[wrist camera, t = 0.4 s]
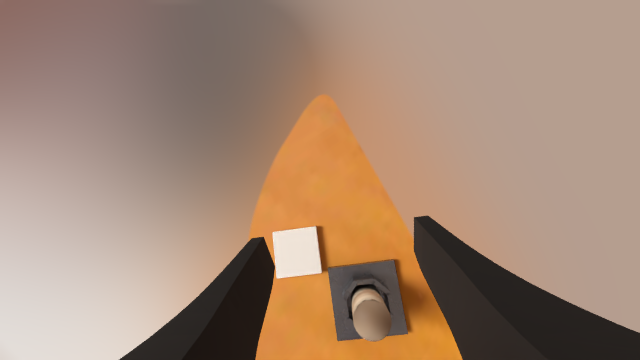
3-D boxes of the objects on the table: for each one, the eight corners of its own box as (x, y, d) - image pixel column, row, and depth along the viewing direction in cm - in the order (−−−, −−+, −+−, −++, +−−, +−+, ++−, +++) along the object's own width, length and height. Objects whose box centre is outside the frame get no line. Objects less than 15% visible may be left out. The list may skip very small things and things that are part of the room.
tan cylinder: (384, 314, 33) (394, 339, 26) (353, 317, 33) (356, 343, 26) (378, 282, 34) (387, 298, 27) (348, 285, 34) (350, 302, 27)
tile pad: (322, 271, 35) (321, 273, 34) (278, 276, 36) (276, 278, 35) (316, 226, 37) (315, 226, 36) (274, 231, 37) (272, 232, 36)
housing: (406, 331, 33) (413, 343, 30) (337, 338, 34) (337, 350, 30) (392, 259, 35) (397, 263, 31) (328, 267, 35) (326, 272, 32)
